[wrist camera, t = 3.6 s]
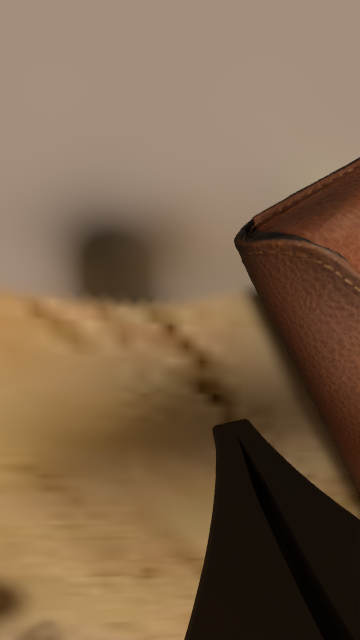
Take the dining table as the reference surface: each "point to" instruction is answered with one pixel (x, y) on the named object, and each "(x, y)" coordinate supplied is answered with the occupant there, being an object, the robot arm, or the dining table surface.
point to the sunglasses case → (316, 294)
